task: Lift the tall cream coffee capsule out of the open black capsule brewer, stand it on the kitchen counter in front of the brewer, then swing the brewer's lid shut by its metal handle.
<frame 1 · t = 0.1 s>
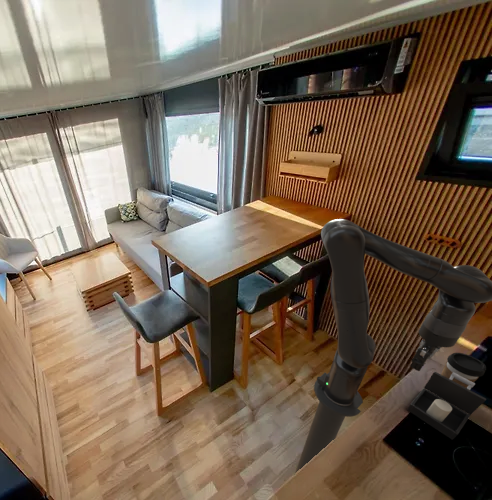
hand: (421, 361, 82), 24 cm above the kitchen counter, tool pointing down, fingers open, 8 cm apart
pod: (434, 415, 88), point 1 cm above the kitchen counter, touching brewer
brewer: (435, 415, 89), on the kitchen counter
coffee cup: (449, 386, 96), on the kitchen counter
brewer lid: (455, 388, 86), point 10 cm above the kitchen counter, hinge at 80.0°
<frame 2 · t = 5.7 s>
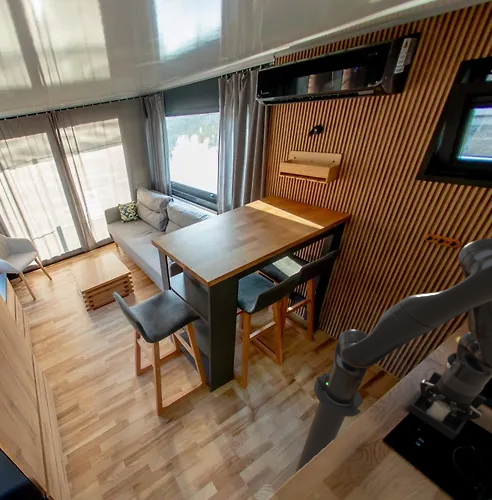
hand: (437, 412, 87), 3 cm above the kitchen counter, tool pointing down, fingers closed on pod, 4 cm apart
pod: (434, 415, 88), point 1 cm above the kitchen counter, touching brewer, gripper
everything else where it was.
when the fingers open (2 cm above the kitchen counter, at t = 13.2 s): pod stays where it is, on the kitchen counter.
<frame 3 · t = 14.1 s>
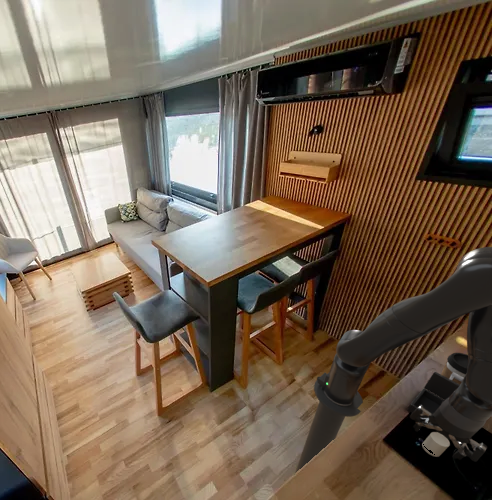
hand: (435, 442, 79), 4 cm above the kitchen counter, tool pointing down, fingers open, 8 cm apart
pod: (430, 449, 81), on the kitchen counter
everything else where it was.
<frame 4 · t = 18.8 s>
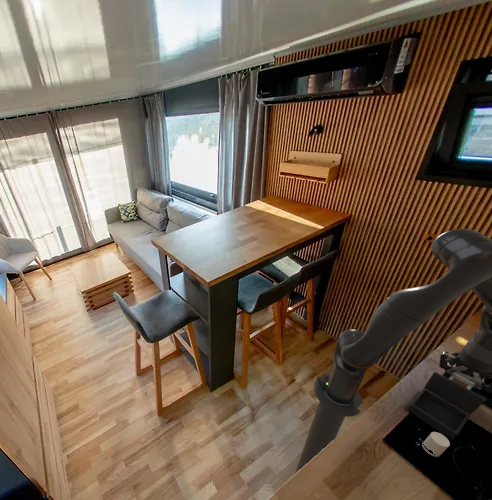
hand: (458, 385, 86), 11 cm above the kitchen counter, tool pointing down, fingers closed on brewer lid, 5 cm apart
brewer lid: (455, 388, 86), point 10 cm above the kitchen counter, hinge at 80.0°, touching gripper
everything else where it was.
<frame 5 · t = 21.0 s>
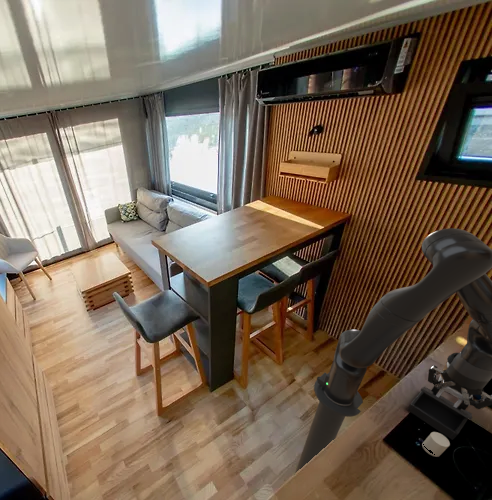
hand: (447, 400, 84), 10 cm above the kitchen counter, tool pointing down, fingers closed on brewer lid, 5 cm apart
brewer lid: (449, 396, 85), point 9 cm above the kitchen counter, hinge at 39.7°, touching gripper
everything else where it was.
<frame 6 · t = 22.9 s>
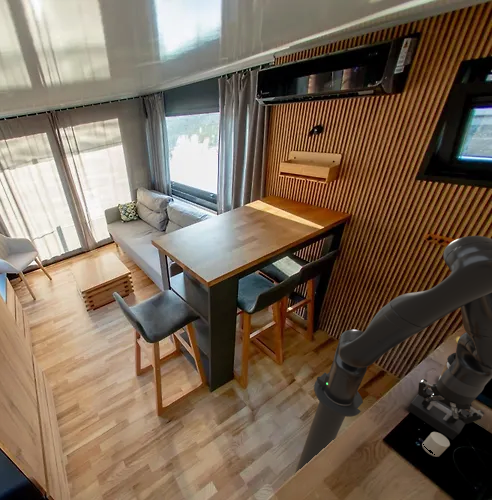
hand: (437, 413, 85), 5 cm above the kitchen counter, tool pointing down, fingers closed on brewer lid, 5 cm apart
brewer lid: (443, 405, 85), point 7 cm above the kitchen counter, hinge at 4.2°, touching gripper
everything else where it was.
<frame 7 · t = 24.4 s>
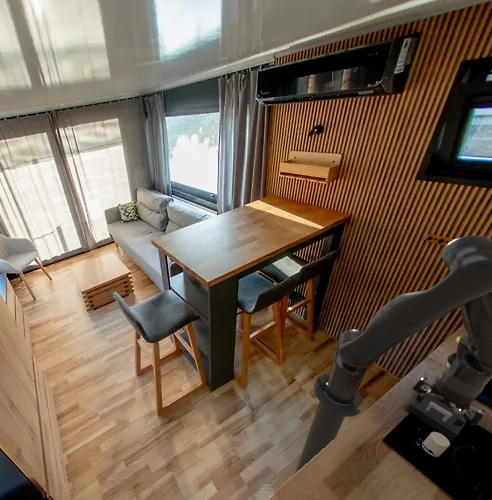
hand: (436, 411, 84), 6 cm above the kitchen counter, tool pointing down, fingers open, 8 cm apart
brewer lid: (442, 406, 85), point 6 cm above the kitchen counter, hinge at -0.3°, touching brewer
everything else where it was.
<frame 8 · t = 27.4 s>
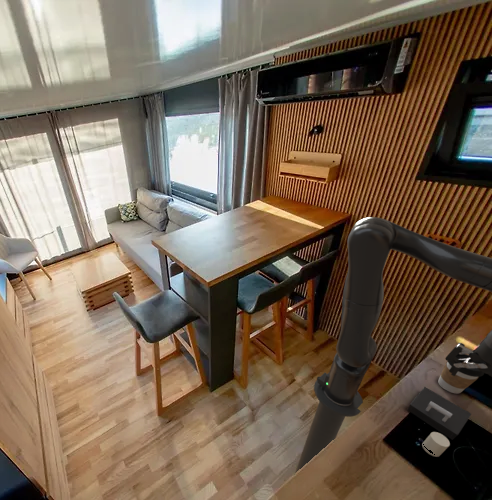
hand: (476, 385, 69), 30 cm above the kitchen counter, tool pointing down, fingers open, 8 cm apart
nothing on the kitchen counter moved.
at the end: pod inside the target area (0.1 cm from its centre), on the kitchen counter; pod tilted 0°; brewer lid at +0° (first picture: +80°) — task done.
